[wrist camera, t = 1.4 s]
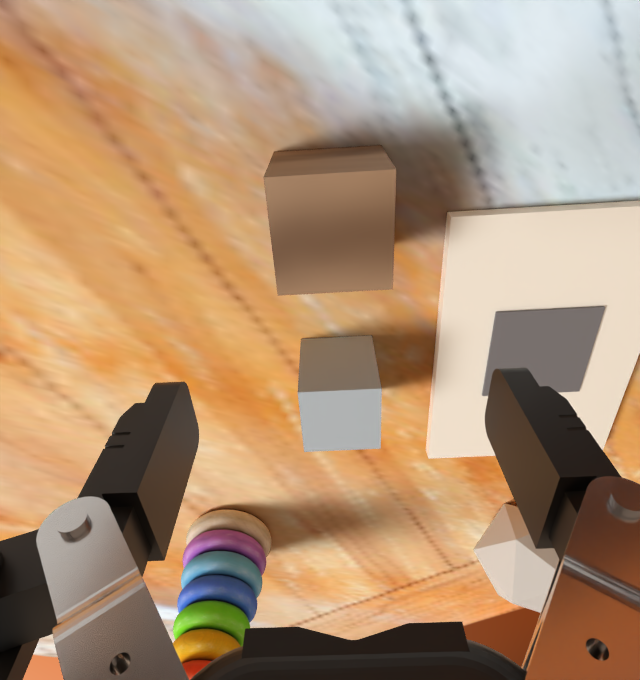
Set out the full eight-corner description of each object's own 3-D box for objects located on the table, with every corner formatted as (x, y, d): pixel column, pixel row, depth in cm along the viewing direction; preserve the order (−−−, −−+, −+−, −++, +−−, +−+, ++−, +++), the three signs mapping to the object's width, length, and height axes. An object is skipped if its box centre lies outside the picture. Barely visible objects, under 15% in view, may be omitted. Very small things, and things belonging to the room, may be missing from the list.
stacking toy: (289, 533, 45) (273, 801, 29) (233, 565, 47) (191, 825, 32) (227, 493, 41) (172, 769, 26) (171, 530, 44) (91, 799, 29)
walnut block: (274, 151, 26) (263, 177, 21) (380, 144, 26) (396, 169, 21) (284, 252, 29) (277, 295, 24) (379, 246, 29) (392, 289, 24)
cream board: (447, 211, 28) (452, 218, 27) (684, 197, 27) (699, 203, 26) (425, 449, 39) (428, 460, 38) (596, 441, 38) (603, 452, 37)
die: (446, 522, 45) (493, 633, 41) (490, 511, 37) (551, 644, 34) (515, 496, 47) (564, 598, 44) (568, 480, 40) (634, 602, 36)
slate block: (301, 338, 33) (297, 392, 28) (371, 334, 33) (381, 388, 28) (306, 393, 35) (304, 451, 30) (371, 390, 35) (380, 448, 30)
